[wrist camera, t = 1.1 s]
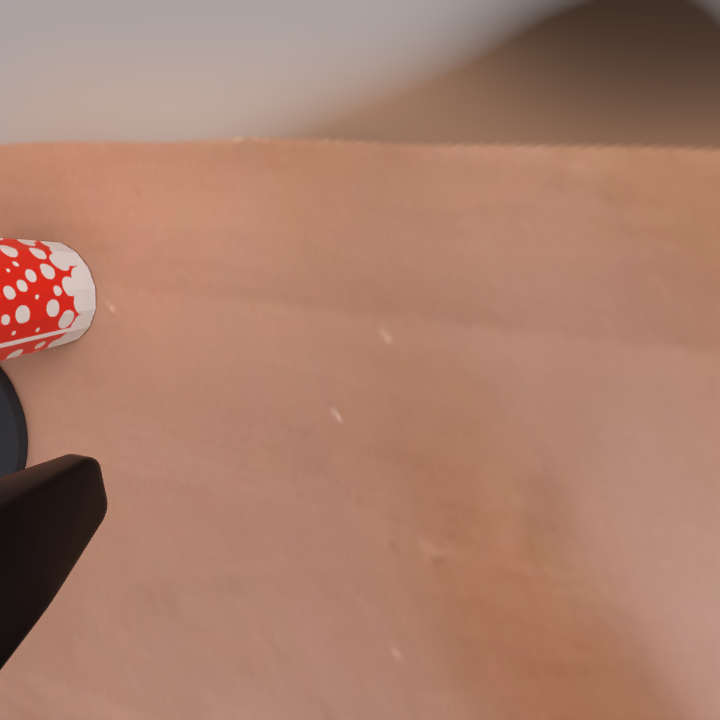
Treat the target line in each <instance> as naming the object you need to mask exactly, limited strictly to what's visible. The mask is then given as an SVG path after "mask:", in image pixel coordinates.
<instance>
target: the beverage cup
mask: <svg viewBox="0 0 720 720" xmlns="http://www.w3.org/2000/svg"><path fill="white" fill-rule="evenodd" d="M95 310H96V295H95V286H94V283H93V280H92V277H91V274H90V271H89V268H88V267H87V266H86V264H85V263H84V262H83V260H82V259H81V258H80V256H79V255H78V254H77V252H75V251H74V250H72V249H70V248H69V247H67V246H65V245H64V244H62V243H58V242H48V241H36V240H23V239H10V238H0V362H2V361H6V360H9V359H13V358H16V357H20V356H24V355H27V354H31V353H34V352H38V351H42V350H45V349H49V348H52V347H56V346H59V345H63V344H66V343H69V342H72V341H74V340H77V339H79V338H80V337H81V336H82V335H83V334H84V332H85V331H86V330H87V329H88V328H89V327H90V324H91V321H92V318H93V316H94V313H95Z"/></svg>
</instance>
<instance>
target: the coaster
mask: <svg viewBox="0 0 720 720" xmlns="http://www.w3.org/2000/svg"><path fill="white" fill-rule="evenodd" d="M26 457H27V430H26V424H25V419H24V415H23V411H22V408H21V405H20V402H19V400H18V397H17V395H16V393H15V391H14V389H13V387H12V385H11V383H10V381H9V380H8V378H7V376H6V375H5V374H4V372H3V371H2V370H1V368H0V477H3V476H6V475H9V474H12V473H15V472H18V471H21V470H24V467H25V463H26Z"/></svg>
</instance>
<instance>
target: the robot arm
mask: <svg viewBox="0 0 720 720" xmlns="http://www.w3.org/2000/svg"><path fill="white" fill-rule="evenodd" d="M106 511H107V497H106V492H105V487H104V483H103V478H102V473H101V468H100V465H99V463H98V462H97V460H96V459H94V458H92V457H87V456H81V455H76V454H68V455H65V456H62V457H59V458H56V459H53V460H50V461H47V462H44V463H41V464H38V465H35V466H33V467H30V468H27V469H24V470H21V471H18V472H15V473H12V474H9V475H6V476H3V477H0V670H1V669H2V667H3V666H4V665H5V663H6V662H7V661H8V659H9V658H10V657H11V655H12V654H13V653H14V652H15V650H16V649H17V648H18V646H19V645H20V644H21V642H22V641H23V640H24V638H25V637H26V636H27V634H28V633H29V632H30V631H31V629H32V628H33V627H34V625H35V624H36V623H37V621H38V620H39V619H40V617H41V616H42V614H43V613H44V612H45V610H46V609H47V608H48V606H49V605H50V603H51V602H52V600H53V599H54V597H55V596H56V594H57V593H58V591H59V589H60V588H61V586H62V585H63V583H64V581H65V580H66V578H67V577H68V575H69V573H70V572H71V570H72V569H73V567H74V565H75V564H76V562H77V561H78V559H79V557H80V556H81V554H82V553H83V551H84V549H85V548H86V546H87V545H88V543H89V541H90V540H91V538H92V537H93V535H94V534H95V532H96V530H97V529H98V527H99V526H100V524H101V522H102V521H103V519H104V517H105V514H106Z"/></svg>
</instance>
